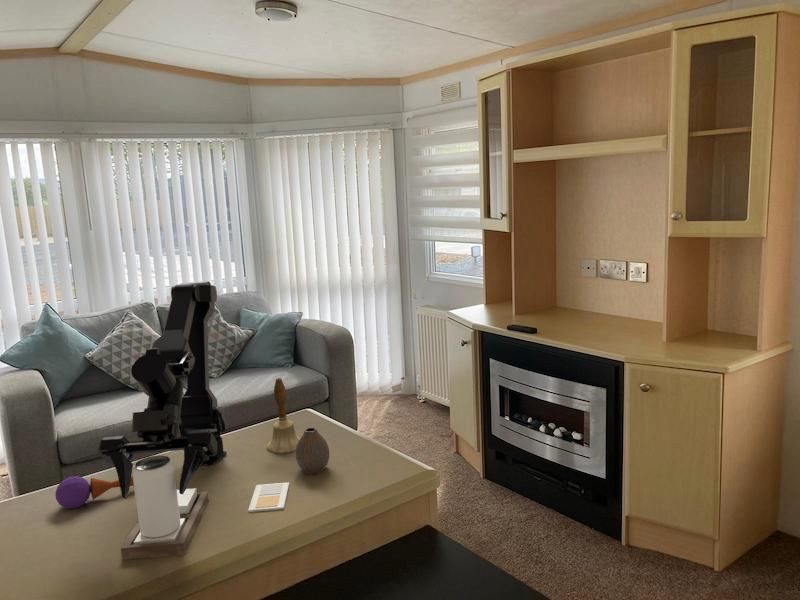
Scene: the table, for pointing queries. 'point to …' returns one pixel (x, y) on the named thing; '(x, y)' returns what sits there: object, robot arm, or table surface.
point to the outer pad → (168, 538)
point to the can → (156, 496)
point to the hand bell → (282, 425)
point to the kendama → (82, 490)
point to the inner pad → (186, 500)
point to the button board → (167, 547)
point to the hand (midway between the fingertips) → (152, 495)
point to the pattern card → (269, 497)
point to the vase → (312, 452)
